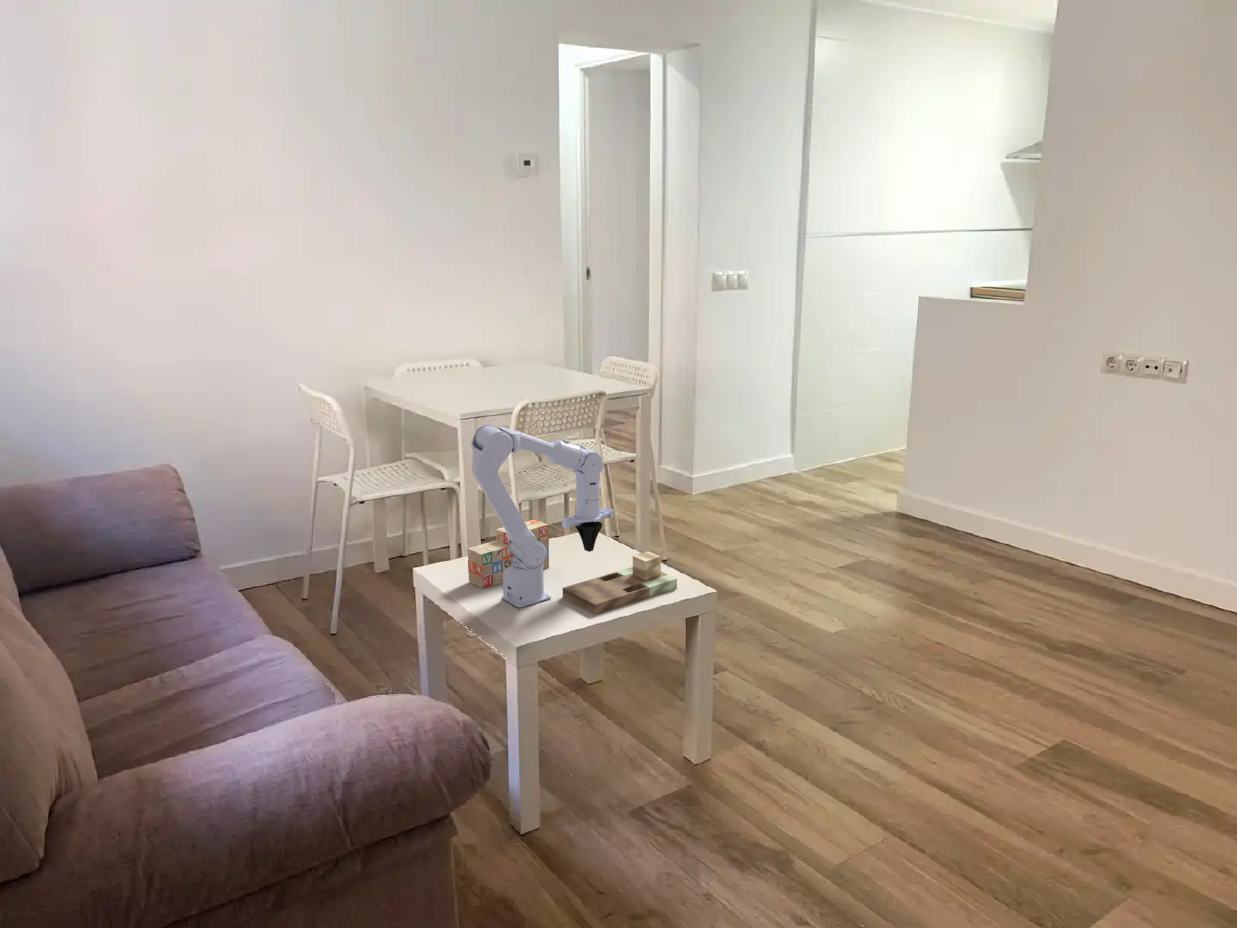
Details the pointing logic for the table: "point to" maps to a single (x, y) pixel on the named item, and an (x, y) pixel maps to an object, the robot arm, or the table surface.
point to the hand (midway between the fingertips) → (588, 550)
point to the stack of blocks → (500, 556)
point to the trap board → (616, 590)
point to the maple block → (646, 565)
